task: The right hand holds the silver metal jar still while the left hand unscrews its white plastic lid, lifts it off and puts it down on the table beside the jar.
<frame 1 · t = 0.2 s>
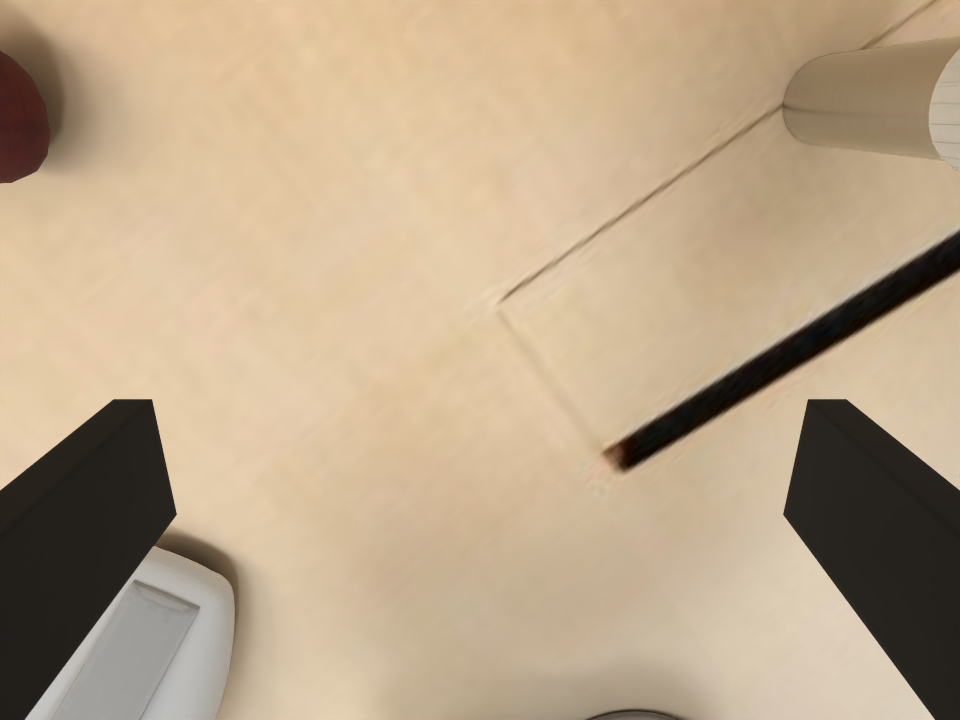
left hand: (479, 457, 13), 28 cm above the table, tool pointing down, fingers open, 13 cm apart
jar: (825, 100, 36), on the table
dark red round piece: (14, 111, 37), on the table
projector: (141, 643, 52), on the table
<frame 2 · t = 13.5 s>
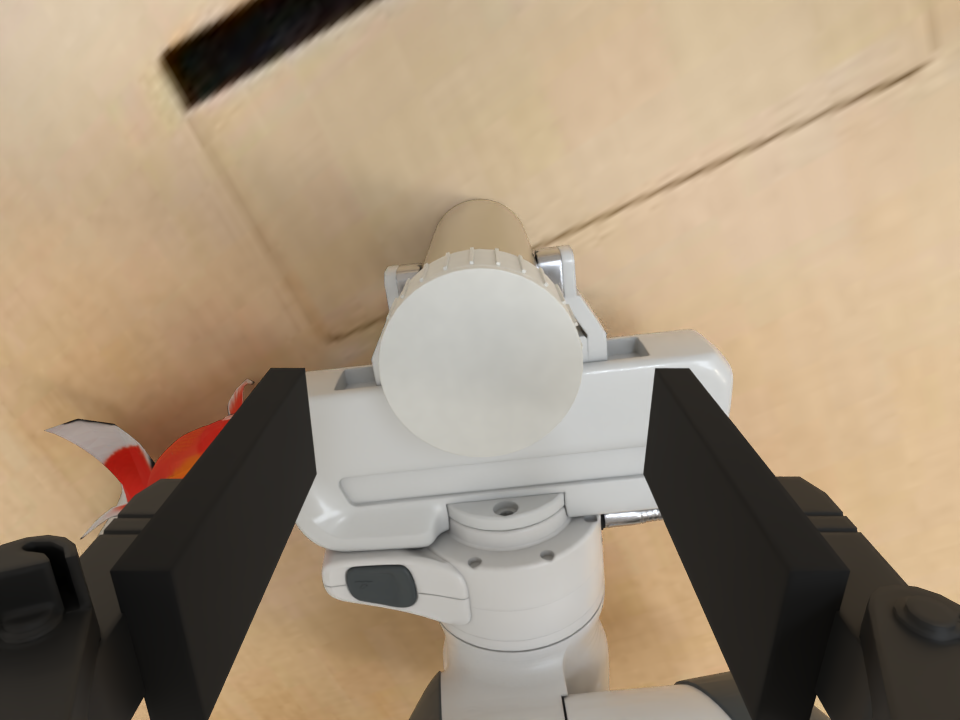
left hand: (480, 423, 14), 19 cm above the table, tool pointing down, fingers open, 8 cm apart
right hand: (476, 258, 26), fingers closed on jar, 5 cm apart
lid: (480, 363, 18), point 15 cm above the table, screwed on, not yet turned
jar: (480, 247, 32), on the table, touching right hand
fish: (203, 457, 37), on the table
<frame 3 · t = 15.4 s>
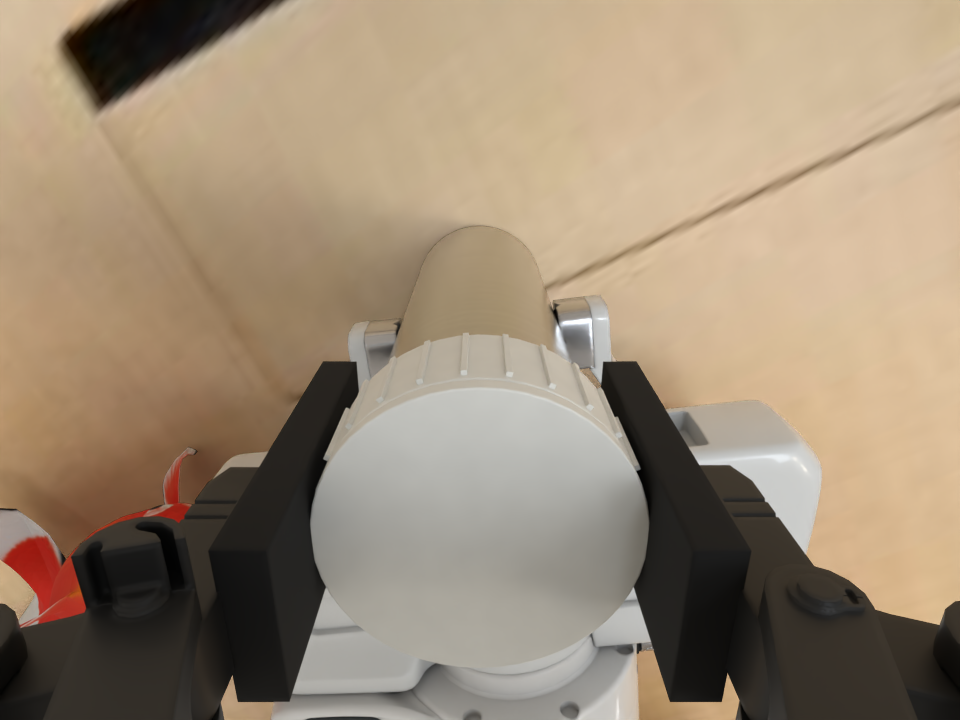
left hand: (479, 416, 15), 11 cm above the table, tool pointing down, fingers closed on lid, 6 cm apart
lid: (479, 529, 11), point 15 cm above the table, screwed on, not yet turned, touching left hand
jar: (479, 286, 25), on the table, touching right hand
fish: (138, 538, 30), on the table
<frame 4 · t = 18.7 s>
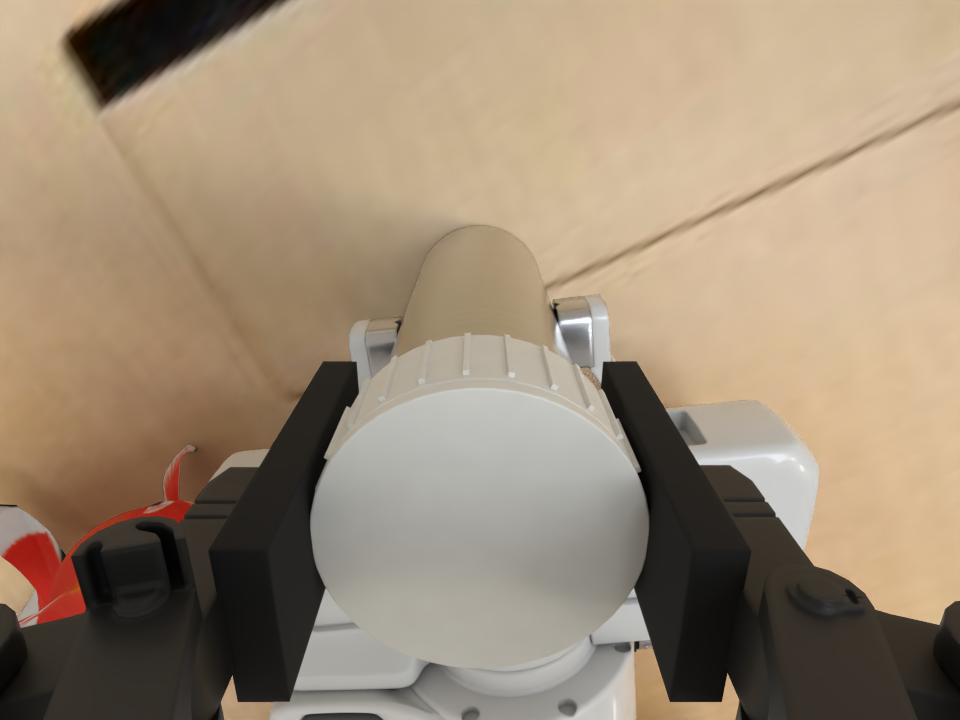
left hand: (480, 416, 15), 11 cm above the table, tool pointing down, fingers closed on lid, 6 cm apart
lid: (479, 529, 11), point 16 cm above the table, turned 100° so far, risen 0.1 cm, still on its thread, touching left hand
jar: (479, 285, 25), on the table, touching right hand
fish: (138, 535, 30), on the table
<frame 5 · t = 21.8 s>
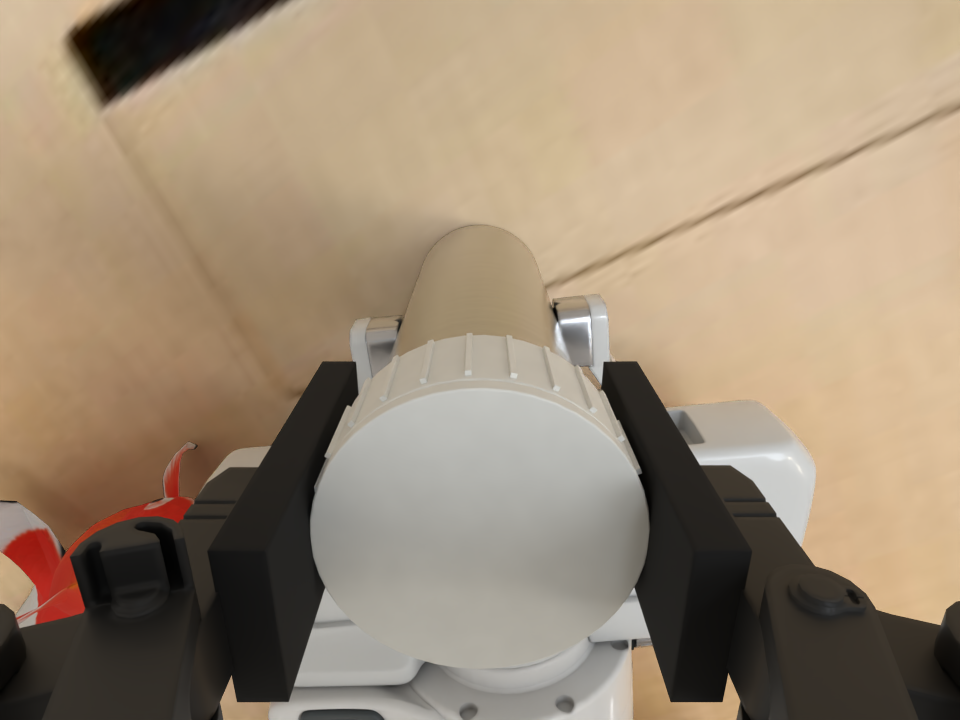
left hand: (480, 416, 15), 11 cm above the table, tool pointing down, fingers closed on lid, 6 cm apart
lid: (479, 530, 11), point 16 cm above the table, turned 201° so far, risen 0.3 cm, still on its thread, touching left hand
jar: (479, 285, 25), on the table, touching right hand
fish: (137, 532, 30), on the table
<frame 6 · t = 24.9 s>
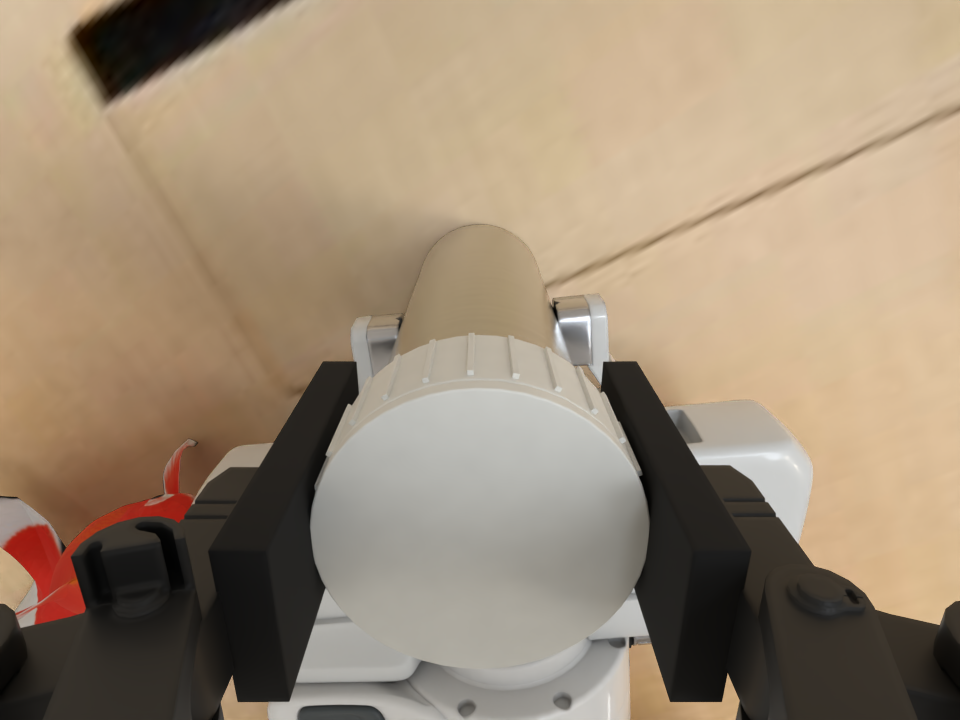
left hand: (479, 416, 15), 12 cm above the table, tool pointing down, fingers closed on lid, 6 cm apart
lid: (479, 530, 11), point 16 cm above the table, turned 301° so far, risen 0.4 cm, still on its thread, touching left hand
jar: (479, 284, 25), on the table, touching right hand
fish: (137, 529, 30), on the table
when the left hand's fingers open (0 cm above the table, at t = 31.2 s): lid drops 2 cm, point 2 cm above the table.
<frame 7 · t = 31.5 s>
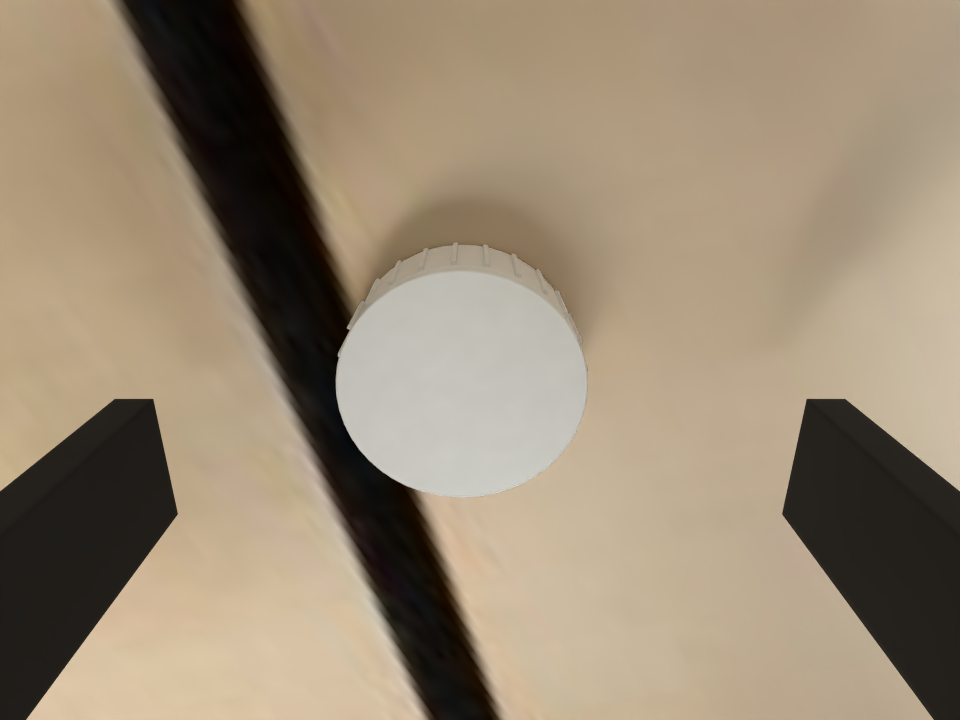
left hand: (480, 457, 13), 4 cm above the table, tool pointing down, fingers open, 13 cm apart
lid: (462, 386, 14), point 2 cm above the table, off its thread
when the right hand's fingers open (6 cm above the table, at t = 31.9 s): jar stays where it is, on the table.
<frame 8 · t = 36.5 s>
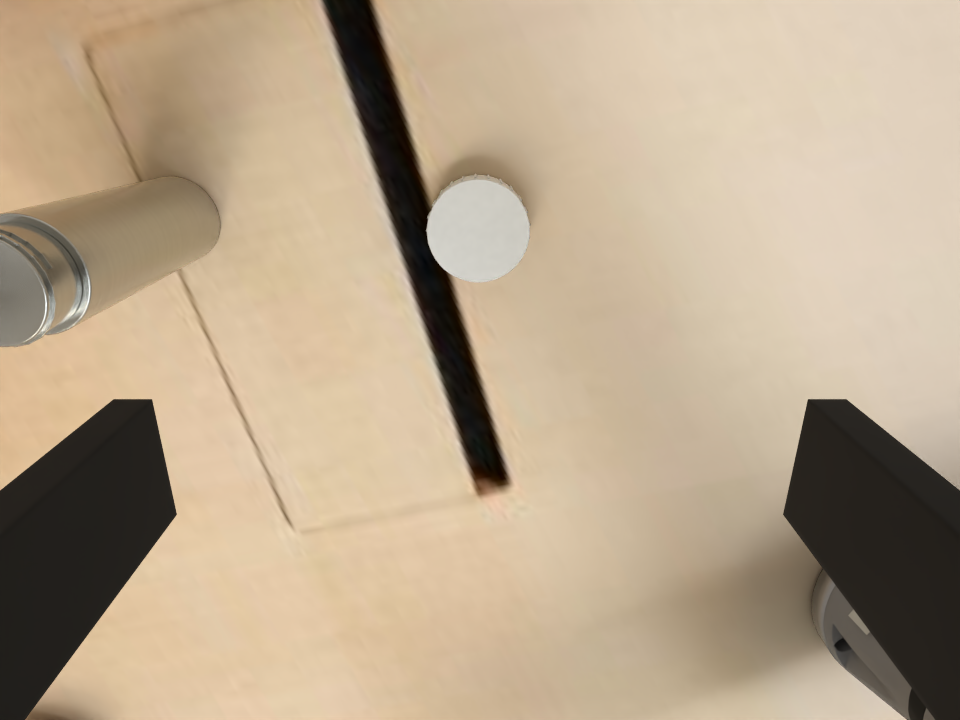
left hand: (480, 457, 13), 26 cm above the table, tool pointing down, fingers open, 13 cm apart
lid: (478, 231, 35), point 2 cm above the table, off its thread
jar: (178, 219, 37), on the table
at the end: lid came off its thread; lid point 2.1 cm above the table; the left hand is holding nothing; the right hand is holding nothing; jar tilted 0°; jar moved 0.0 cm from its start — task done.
